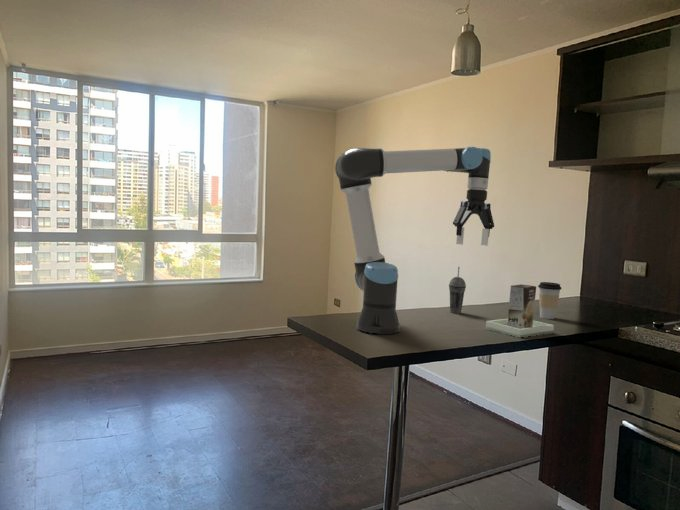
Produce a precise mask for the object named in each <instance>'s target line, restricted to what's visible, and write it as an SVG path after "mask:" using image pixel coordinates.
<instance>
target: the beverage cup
mask: <svg viewBox="0 0 680 510" xmlns="http://www.w3.org/2000/svg"><path fill="white" fill-rule="evenodd" d="M448 288H449V289H448V290H449V312H450V313H451V314H456V315H457V314H458V315H459V314H460V315H461V314H462V311H463V310H462V309H463V304H464V303H463V302H464V296H465V291H466V288H467V284H466V281H465V280H464V279H463V278H462V277H461V276H460V266H458V267H457V276H454V277H453V278H451V279H450V281H449V284H448Z"/></svg>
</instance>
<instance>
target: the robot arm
mask: <svg viewBox="0 0 680 510" xmlns="http://www.w3.org/2000/svg"><path fill="white" fill-rule="evenodd" d="M491 161H492V159H491V150H490V149H489V148H483V147H476V146H467V147H460V148H458V147H457V148H438V149H437V148H436V149H435V148H433V149H432V148H431V149H409V150H408V149H407V150H384V149H383V148H367V147H365V148H364V147H353V148H351V149H348V150H346V151H345V152H343V153H341V154H340V155H339V157H337V160H336V163H335V165H334V166H335V167H334V168H335V170H334V171H335V174H336V177H337V178H338V181H339V187H340V191H342V192H343V194H345V198H346V203H347V207H348V208H347V209H348V214H349V218H350V225H351V230H352V235H353V241H354V246H355V253H356V258H355V260H354V261H353V263H354V269H355V274H354V279H355V280H354V281H355V283H356V285H357V287H358V288H359V289H360V290H361V291H362V292H363V300H362V308H361V310H360V314H359V317H358V320H357V321H356V329H357V330H358V329H359V330H358V331H360V330H361V331H360V332H362V331H364V332H363V333H366V332H369V333H368V334H372V333H377V334H376V335H393V333H394V334H397V332H398V333H399V332H400V326H401V325H400V321H399V317H398V314H397V308H396V307H397V292H398V279H399V272H398V271H399V270H398V268H397V266H396V265H394V264H392V263H389V262H386V258H385V256H384V254H382V253H380V247H379V244H378V243H379V241H378V237H377V231H376V225H375V220H374V214H373V208H372V202H371V198H370V197H371V196H370V190H369V189H370V188H371V186H372V179H373V178H377V177H378V178H379V177H383V176H384V175H385V174H399V173H400V174H403V173H421V172H423V173H425V172H439V171H440V172H441V171H442V172H448V173H449V172H451V173H464V174H468V177H467V179H468V180H467V191H466V197H465V198H466V199H467V200H461V202H460V207H459V209H458V211H457V213H456V215H455V217H454V220H453V222H452V225H454V227H456V230H455V231H456V242H455V243H456V245H462V246H463V245H464V237H465V236H464V235H465V227H463V226H464V225H465V224H467V223H466V222H468V220H469V219H470V217H471V216H472V215H474V214H475V215H477V216H478V217H479V219H480V221H481V224H482V225H483V228H482V230H481V231H482V232H481V243H480V245H481V246H487V247H488V246H489V238H490V230H492V229H493V228H495V222H494V219H493V214H492V209H491V205H492V204H491V203H488V202H487V203H486V201H487V200H488V198H487V197H488V191H487V190H488V188H489V187H488V186H489V185H488V184H489V177H490V168H491V167H490V166H491Z"/></svg>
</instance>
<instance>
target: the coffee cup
mask: <svg viewBox="0 0 680 510" xmlns="http://www.w3.org/2000/svg"><path fill="white" fill-rule="evenodd" d="M537 287H538V288H539V293H538V300H539V301H538V303H539V304H538V305H539V318H541V319H546V320H555V317H556V314H557V313H556V312H557V308H558V304H559V298H560V291H561V290H562V286H561V283H557V282H549V281H540V282H539V284H538V286H537Z"/></svg>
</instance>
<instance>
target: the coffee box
mask: <svg viewBox="0 0 680 510" xmlns="http://www.w3.org/2000/svg"><path fill="white" fill-rule="evenodd" d="M509 290H510V291H509V292H510V293H509V301H508V315H507V319H508V324H507V326H510V327H514V328H518V329H523V328H530V327H533V320H534V318H535V317H534V314H535V305H536V294H537V293H536V291H537V286H535V285H530V284H514V285H510V289H509Z"/></svg>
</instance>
